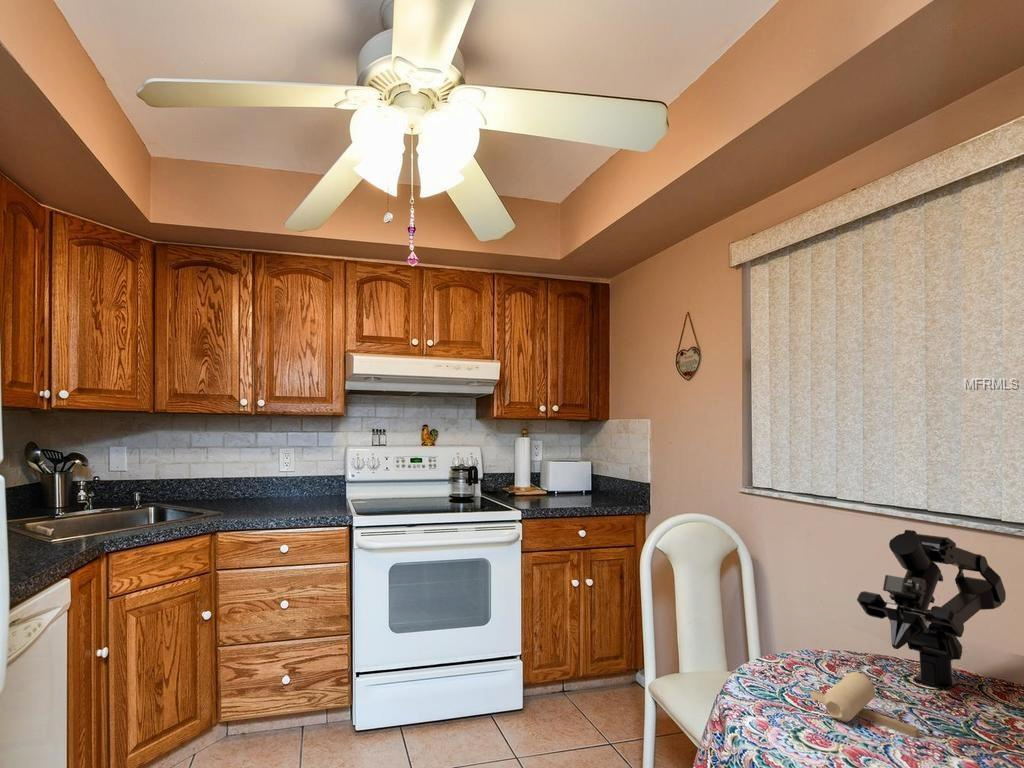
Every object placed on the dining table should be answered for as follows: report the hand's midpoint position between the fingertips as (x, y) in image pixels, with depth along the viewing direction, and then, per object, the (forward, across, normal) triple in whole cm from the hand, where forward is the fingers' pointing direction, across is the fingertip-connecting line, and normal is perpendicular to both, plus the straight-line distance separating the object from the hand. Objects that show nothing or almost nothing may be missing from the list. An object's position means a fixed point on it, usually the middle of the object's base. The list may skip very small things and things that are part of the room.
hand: (894, 647), depth 128 cm
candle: (+11, -1, -4) cm, 12 cm away
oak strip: (+16, 0, -2) cm, 17 cm away
